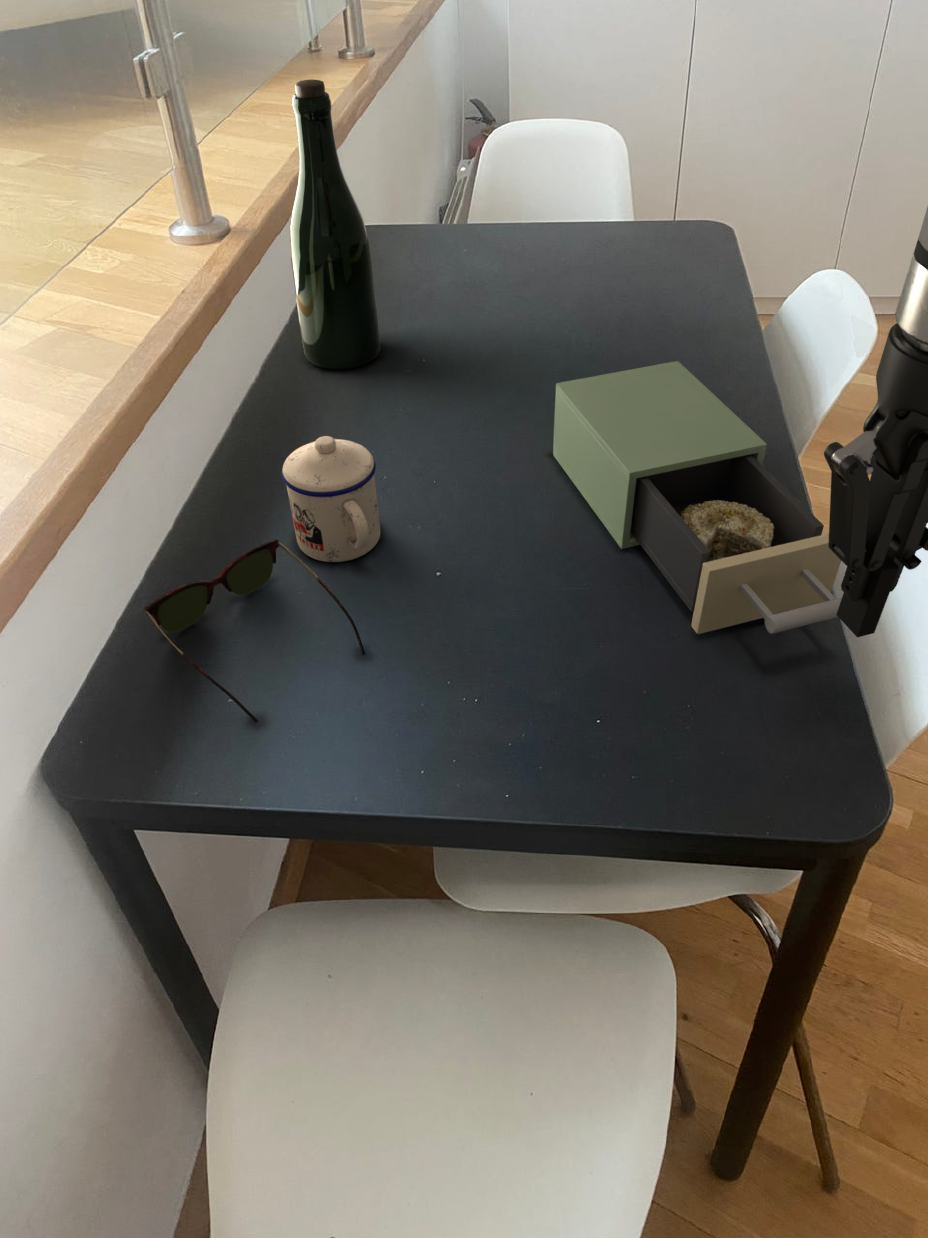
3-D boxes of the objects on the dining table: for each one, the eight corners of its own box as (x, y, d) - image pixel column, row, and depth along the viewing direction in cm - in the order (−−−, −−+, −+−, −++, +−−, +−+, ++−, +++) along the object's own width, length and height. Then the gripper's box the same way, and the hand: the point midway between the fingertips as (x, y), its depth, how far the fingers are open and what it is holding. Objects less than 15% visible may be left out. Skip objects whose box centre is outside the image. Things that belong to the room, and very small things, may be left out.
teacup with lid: (282, 529, 96) (262, 432, 89) (360, 502, 100) (348, 406, 92) (327, 593, 89) (310, 493, 81) (411, 562, 92) (402, 462, 84)
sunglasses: (283, 573, 91) (277, 534, 88) (378, 656, 84) (376, 618, 80) (153, 644, 84) (141, 605, 80) (244, 742, 77) (235, 704, 73)
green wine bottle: (361, 377, 121) (329, 95, 99) (291, 365, 124) (244, 89, 101) (393, 342, 128) (370, 72, 106) (326, 332, 131) (290, 67, 109)
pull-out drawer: (866, 642, 80) (890, 578, 75) (730, 678, 78) (745, 614, 73) (731, 498, 97) (743, 437, 92) (614, 523, 94) (620, 463, 89)
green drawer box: (750, 520, 95) (767, 444, 89) (621, 549, 92) (629, 472, 86) (668, 431, 109) (677, 360, 102) (552, 455, 106) (555, 382, 99)
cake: (656, 530, 92) (662, 483, 89) (753, 524, 93) (763, 476, 89) (684, 588, 84) (691, 538, 81) (790, 580, 85) (802, 531, 81)
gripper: (1005, 291, 58) (896, 575, 74) (825, 324, 56) (753, 611, 72) (1098, 342, 53) (960, 636, 69) (905, 381, 50) (808, 677, 66)
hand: (855, 623), depth 70 cm, fingers closed
